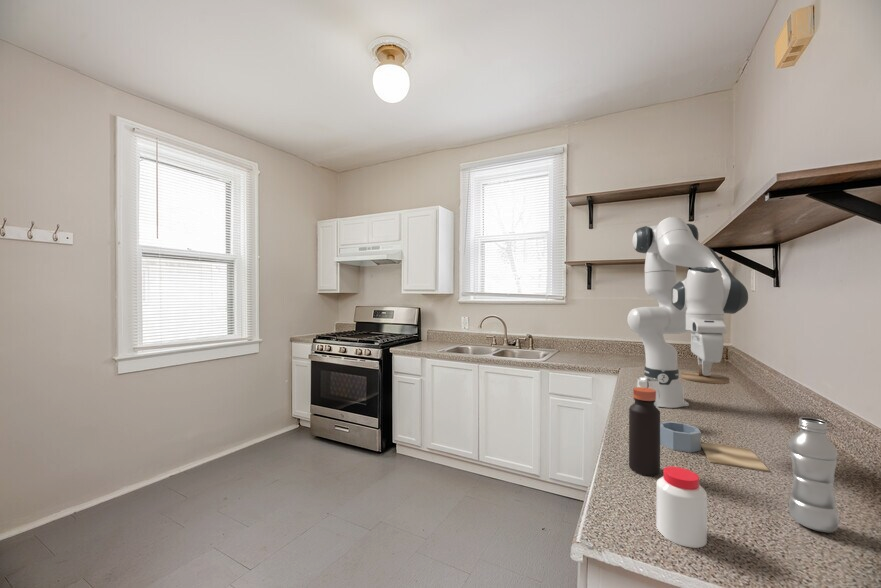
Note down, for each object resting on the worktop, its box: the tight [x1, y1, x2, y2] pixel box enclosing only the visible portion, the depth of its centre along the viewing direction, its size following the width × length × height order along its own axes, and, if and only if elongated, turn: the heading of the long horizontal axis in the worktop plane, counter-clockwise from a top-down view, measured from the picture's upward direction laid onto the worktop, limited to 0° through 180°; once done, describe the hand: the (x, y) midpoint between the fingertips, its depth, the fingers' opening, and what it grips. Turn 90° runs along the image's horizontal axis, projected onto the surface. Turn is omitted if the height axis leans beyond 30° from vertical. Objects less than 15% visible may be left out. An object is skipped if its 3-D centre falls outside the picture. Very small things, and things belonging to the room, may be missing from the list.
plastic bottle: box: [787, 416, 840, 534], centre depth 69 cm, size 6×7×20 cm
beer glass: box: [636, 376, 660, 410], centre depth 125 cm, size 7×7×15 cm
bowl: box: [660, 421, 702, 453], centre depth 107 cm, size 10×10×5 cm
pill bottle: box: [655, 465, 708, 549], centre depth 67 cm, size 8×8×11 cm
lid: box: [680, 364, 730, 385], centre depth 103 cm, size 11×11×4 cm
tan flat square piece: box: [701, 441, 771, 473], centre depth 100 cm, size 14×12×1 cm
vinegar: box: [628, 386, 661, 477], centre depth 92 cm, size 7×7×20 cm
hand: (704, 373), depth 103 cm, fingers closed on lid, 3 cm apart
